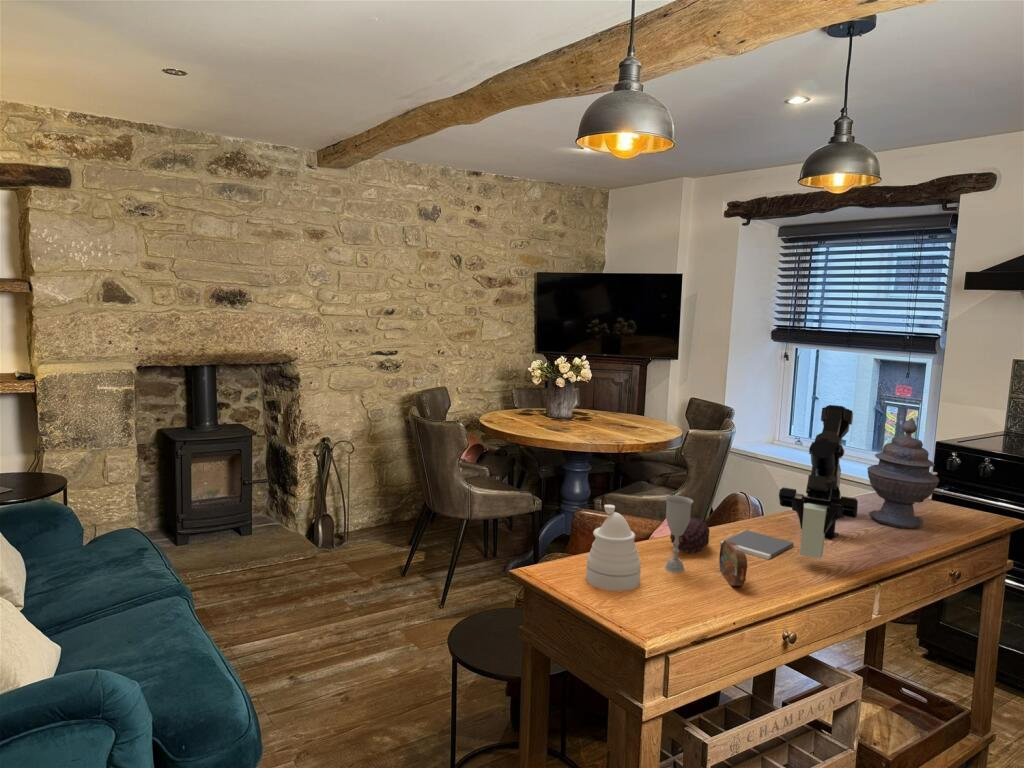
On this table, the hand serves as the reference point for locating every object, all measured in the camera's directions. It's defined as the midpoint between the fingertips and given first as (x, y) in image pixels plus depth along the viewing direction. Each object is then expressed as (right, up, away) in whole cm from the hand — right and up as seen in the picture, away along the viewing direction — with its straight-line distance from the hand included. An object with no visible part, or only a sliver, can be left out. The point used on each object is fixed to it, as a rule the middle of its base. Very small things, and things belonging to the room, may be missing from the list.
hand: (812, 530), depth 180 cm
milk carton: (+24, -6, +49) cm, 55 cm away
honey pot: (-53, -10, -10) cm, 54 cm away
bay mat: (-8, -8, +18) cm, 21 cm away
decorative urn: (+46, -7, +44) cm, 64 cm away
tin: (-23, -11, -7) cm, 26 cm away
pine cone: (-28, -8, +13) cm, 32 cm away
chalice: (-36, -10, -1) cm, 37 cm away
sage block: (0, -6, +2) cm, 7 cm away
